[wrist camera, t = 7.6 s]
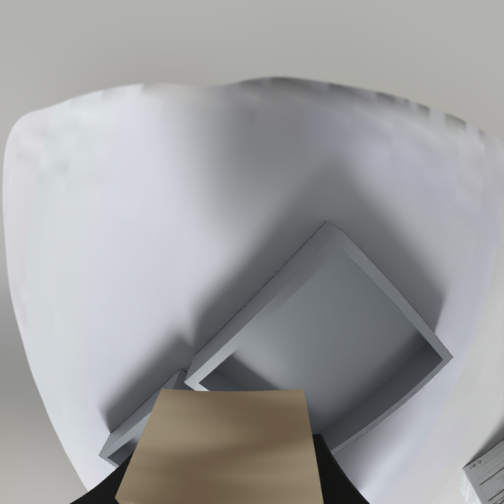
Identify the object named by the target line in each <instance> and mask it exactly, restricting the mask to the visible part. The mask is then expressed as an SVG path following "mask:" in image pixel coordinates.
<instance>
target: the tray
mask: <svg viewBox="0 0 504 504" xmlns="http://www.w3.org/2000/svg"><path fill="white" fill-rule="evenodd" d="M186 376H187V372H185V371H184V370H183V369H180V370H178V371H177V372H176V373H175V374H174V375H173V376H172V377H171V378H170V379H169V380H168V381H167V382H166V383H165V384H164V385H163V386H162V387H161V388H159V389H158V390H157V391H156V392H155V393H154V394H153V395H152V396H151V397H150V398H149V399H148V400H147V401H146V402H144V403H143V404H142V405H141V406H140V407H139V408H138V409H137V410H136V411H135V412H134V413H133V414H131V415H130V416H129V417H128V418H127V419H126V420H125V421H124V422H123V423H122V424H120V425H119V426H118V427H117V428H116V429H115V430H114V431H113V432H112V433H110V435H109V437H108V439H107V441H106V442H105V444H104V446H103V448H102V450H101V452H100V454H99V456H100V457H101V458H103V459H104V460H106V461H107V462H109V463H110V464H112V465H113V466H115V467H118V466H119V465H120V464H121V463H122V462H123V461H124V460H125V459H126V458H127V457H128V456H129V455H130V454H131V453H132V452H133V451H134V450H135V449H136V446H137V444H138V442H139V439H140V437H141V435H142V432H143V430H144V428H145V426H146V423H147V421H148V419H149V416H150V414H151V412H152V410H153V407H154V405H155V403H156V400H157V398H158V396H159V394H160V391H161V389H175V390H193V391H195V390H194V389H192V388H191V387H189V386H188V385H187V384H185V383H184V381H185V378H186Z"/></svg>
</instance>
